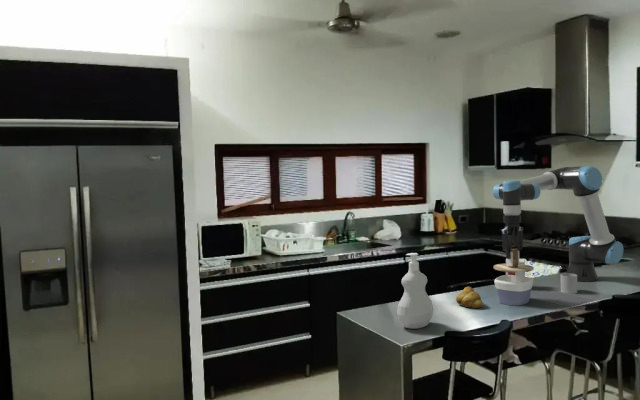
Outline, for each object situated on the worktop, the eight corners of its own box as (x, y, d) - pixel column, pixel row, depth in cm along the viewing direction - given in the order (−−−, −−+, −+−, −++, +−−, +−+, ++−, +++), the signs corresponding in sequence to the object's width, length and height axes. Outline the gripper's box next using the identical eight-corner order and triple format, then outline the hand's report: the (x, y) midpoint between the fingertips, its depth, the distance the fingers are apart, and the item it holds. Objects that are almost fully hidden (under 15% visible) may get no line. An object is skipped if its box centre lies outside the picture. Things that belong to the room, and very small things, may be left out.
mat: (548, 292, 240) (548, 291, 240) (593, 300, 222) (593, 299, 222) (525, 298, 231) (525, 297, 231) (570, 308, 212) (570, 306, 212)
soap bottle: (419, 318, 206) (417, 249, 205) (441, 324, 197) (438, 252, 196) (390, 327, 197) (388, 254, 195) (411, 334, 187) (409, 257, 186)
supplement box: (506, 290, 248) (505, 261, 247) (506, 286, 256) (505, 258, 256) (525, 291, 245) (524, 261, 244) (525, 287, 253) (524, 258, 252)
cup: (557, 293, 238) (557, 274, 238) (568, 289, 244) (568, 271, 244) (572, 295, 232) (572, 277, 232) (583, 292, 238) (583, 273, 238)
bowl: (505, 296, 236) (504, 273, 235) (537, 301, 225) (537, 277, 224) (490, 303, 225) (489, 279, 224) (523, 309, 214) (523, 283, 213)
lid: (509, 263, 236) (508, 245, 235) (541, 268, 221) (541, 249, 221) (485, 268, 227) (485, 249, 226) (517, 273, 212) (517, 253, 212)
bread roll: (487, 308, 217) (487, 290, 217) (469, 311, 214) (468, 293, 214) (470, 301, 230) (469, 284, 229) (452, 304, 227) (451, 287, 226)
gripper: (516, 212, 230) (517, 261, 232) (492, 215, 221) (494, 266, 223) (530, 213, 224) (531, 263, 225) (506, 216, 215) (508, 268, 216)
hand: (513, 265), depth 224 cm, fingers closed on lid, 4 cm apart
